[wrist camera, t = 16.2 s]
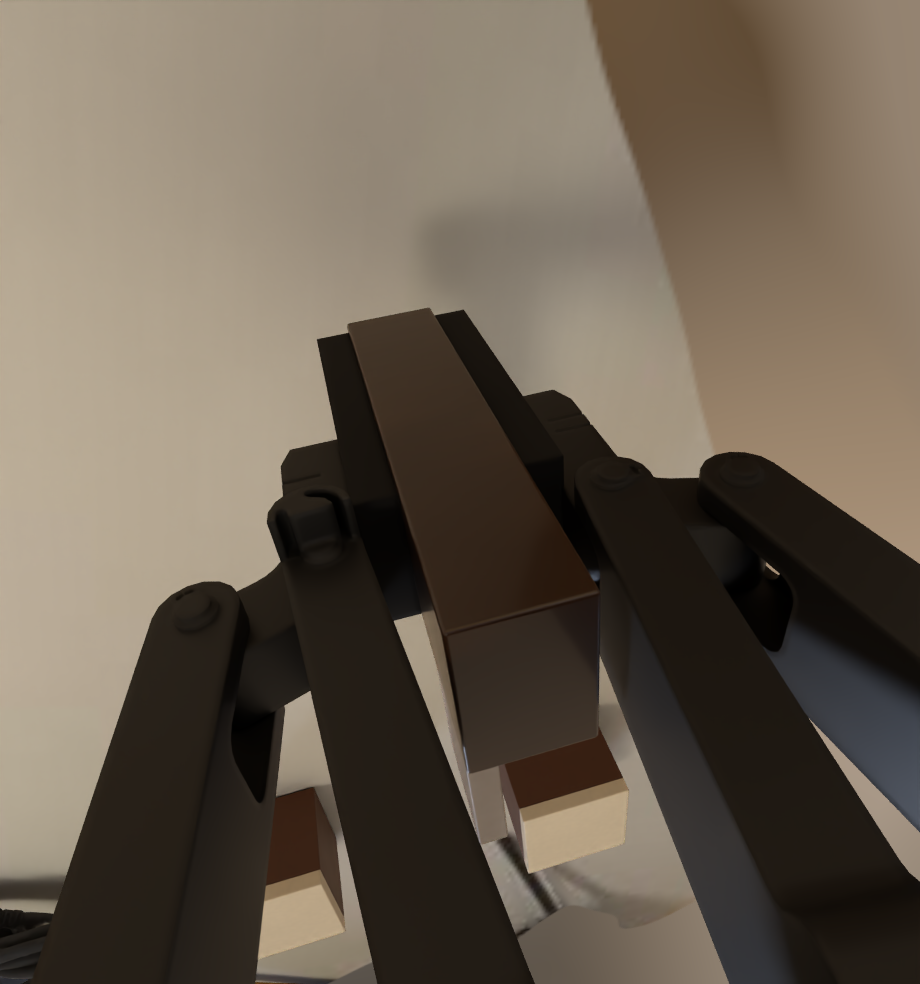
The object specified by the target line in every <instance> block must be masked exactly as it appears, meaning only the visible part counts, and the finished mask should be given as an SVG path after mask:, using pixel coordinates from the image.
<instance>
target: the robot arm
mask: <svg viewBox="0 0 920 984" xmlns="http://www.w3.org/2000/svg"><path fill="white" fill-rule="evenodd" d="M435 317H436V319H437V321H438V322H439V324H440V326H441V327H442V329H443V331H444V332H445V334H446V336H447V337H448V339H449V341H450V342H451V344H452V346H453V347H454V349H455V351H456V352H457V354H458V356H459V357H460V359H461V361H462V362H463V364H464V366H465V367H466V369H467V371H468V372H469V374H470V376H471V377H472V379H473V381H474V382H475V384H476V386H477V387H478V389H479V391H480V392H481V394H482V396H483V397H484V399H485V401H486V402H487V404H488V406H489V407H490V409H491V411H492V412H493V414H494V416H495V417H496V419H497V420H498V422H499V424H500V425H501V427H502V429H503V430H504V432H505V434H506V435H507V437H508V439H509V440H510V442H511V444H512V445H513V447H514V449H515V450H516V452H517V454H518V455H519V457H520V459H521V460H522V462H523V464H524V465H525V467H526V469H527V470H528V472H529V474H530V475H531V477H532V479H533V480H534V482H535V484H536V485H537V487H538V489H539V490H540V492H541V494H542V495H543V497H544V499H545V500H546V502H547V504H548V505H549V507H550V509H551V510H552V512H553V514H554V515H555V517H556V519H557V520H558V522H559V524H560V525H561V527H562V529H563V530H564V532H565V534H566V535H567V537H568V539H569V540H570V542H571V544H572V545H573V547H574V549H575V550H576V552H577V554H578V555H579V557H580V559H581V560H582V562H583V564H584V565H585V567H586V569H587V570H588V572H589V574H590V575H591V577H592V579H593V580H594V582H595V584H596V585H597V587H598V589H599V590H600V593H601V597H600V656H601V659H602V661H603V664H604V666H605V669H606V671H607V674H608V676H609V679H610V681H611V684H612V687H613V689H614V692H615V694H616V697H617V699H618V702H619V704H620V707H621V709H622V712H623V714H624V717H625V720H626V722H627V725H628V727H629V730H630V732H631V735H632V737H633V740H634V742H635V745H636V748H637V750H638V753H639V755H640V758H641V760H642V763H643V765H644V768H645V770H646V773H647V775H648V778H649V781H650V783H651V786H652V788H653V791H654V793H655V796H656V798H657V801H658V803H659V806H660V809H661V811H662V814H663V816H664V819H665V821H666V824H667V826H668V829H669V831H670V834H671V836H672V839H673V842H674V844H675V847H676V849H677V852H678V854H679V857H680V859H681V862H682V864H683V867H684V870H685V872H686V875H687V877H688V880H689V882H690V885H691V887H692V890H693V892H694V895H695V897H696V900H697V902H698V905H699V908H700V910H701V913H702V915H703V918H704V920H705V923H706V925H707V928H708V930H709V933H710V936H711V938H712V941H713V943H714V946H715V948H716V951H717V953H718V956H719V958H720V961H721V963H722V966H723V968H724V971H725V973H726V976H727V979H728V981H729V984H920V881H918V880H917V879H916V878H915V877H914V876H913V875H911V874H910V873H909V872H908V870H907V869H906V868H905V866H904V865H903V864H902V863H901V861H900V860H899V858H898V857H897V855H896V854H895V852H894V851H893V849H892V848H891V846H890V844H889V843H888V841H887V840H886V838H885V837H884V835H883V834H882V832H881V830H880V829H879V827H878V826H877V825H876V823H875V821H874V820H873V818H872V816H871V815H870V813H869V812H868V810H867V809H866V807H865V805H864V804H863V802H862V801H861V799H860V798H859V796H858V795H857V793H856V792H855V790H854V788H853V787H852V785H851V784H850V782H849V781H848V779H847V778H846V776H845V774H844V773H843V771H842V770H841V768H840V767H839V765H838V764H837V762H836V760H835V759H834V757H833V756H832V754H831V753H830V751H829V750H828V748H827V746H826V745H825V743H824V742H823V740H822V739H821V737H820V735H819V734H818V732H817V731H816V729H815V728H814V726H813V724H812V723H811V721H812V722H813V723H814V724H815V725H816V726H817V727H818V728H819V729H820V730H821V731H822V732H823V733H824V734H825V735H826V736H827V737H828V738H829V739H830V740H831V741H832V742H833V743H834V744H835V745H836V746H837V747H838V749H840V751H841V752H842V753H843V754H844V755H845V756H846V757H847V758H848V759H849V760H850V761H851V762H852V763H853V764H854V765H855V766H856V767H857V768H858V769H859V770H860V771H861V772H862V773H863V774H864V775H865V776H866V777H867V778H868V779H869V780H870V781H871V783H872V784H873V785H874V786H875V787H876V788H877V789H878V790H879V791H880V792H881V793H882V794H883V795H884V796H885V797H886V798H887V799H888V800H889V801H890V802H891V803H892V804H893V805H894V806H895V807H896V808H897V809H898V810H899V811H900V812H901V813H902V814H903V815H904V816H905V817H906V819H907V820H908V821H909V822H910V823H911V824H912V825H913V826H914V827H915V828H916V829H917V830H918V831H919V832H920V564H919V563H917V562H916V561H915V560H913V559H912V558H910V557H909V556H907V555H906V554H905V553H903V552H902V551H900V550H899V549H897V548H896V547H894V546H893V545H892V544H890V543H889V542H887V541H886V540H884V539H883V538H881V537H880V536H878V535H877V534H876V533H874V532H873V531H871V530H870V529H869V528H867V527H866V526H864V525H863V524H861V523H860V522H858V521H857V520H856V519H854V518H852V517H851V516H850V515H848V514H847V513H846V512H844V511H842V510H841V509H840V508H838V507H837V506H835V505H834V504H832V503H831V502H830V501H828V500H827V499H825V498H824V497H822V496H821V495H820V494H818V493H817V492H815V491H814V490H812V489H811V488H810V487H808V486H807V485H805V484H804V483H802V482H801V481H799V480H798V479H797V478H795V477H794V476H792V475H791V474H789V473H788V472H786V471H785V470H784V469H782V468H781V467H779V466H778V465H776V464H775V463H773V462H771V461H769V460H767V459H766V458H763V457H762V456H758V455H754V454H749V453H745V452H728V453H723V454H718V455H715V456H713V457H711V458H709V459H707V460H706V461H705V462H704V463H703V465H702V467H701V468H700V474H699V478H673V479H669V478H656V477H653V475H652V474H651V472H650V471H649V470H648V469H647V468H646V467H645V466H644V465H643V464H641V463H639V462H636V461H634V460H632V459H629V458H623V457H617V455H616V454H615V453H614V452H613V450H612V449H611V448H610V447H609V445H608V444H607V443H606V442H605V440H604V439H603V438H602V437H601V435H600V434H599V433H598V432H597V430H596V429H595V428H594V427H593V425H590V422H589V420H588V419H587V418H586V417H585V415H584V414H582V412H581V410H580V409H579V408H578V407H577V405H576V404H575V403H574V402H573V400H572V399H570V398H568V397H567V396H565V395H563V394H561V393H559V392H557V391H555V390H549V391H545V392H540V393H536V394H531V395H527V396H522V394H521V393H520V391H519V390H518V388H517V387H516V385H515V384H514V382H513V381H512V379H511V378H510V377H509V375H508V374H507V372H506V371H505V369H504V368H503V366H502V365H501V363H500V362H499V360H498V359H497V358H496V356H495V355H494V353H493V352H492V350H491V349H490V347H489V346H488V344H487V343H486V341H485V340H484V339H483V337H482V336H481V334H480V333H479V331H478V330H477V328H476V327H475V325H474V324H473V322H472V321H471V320H470V318H469V317H468V315H467V314H466V312H465V311H464V310H460V311H455V312H450V313H445V314H440V315H435ZM317 342H318V347H319V352H320V357H321V362H322V367H323V372H324V376H325V381H326V386H327V391H328V396H329V401H330V405H331V410H332V415H333V420H334V425H335V430H336V435H337V440H333V441H328V442H324V443H319V444H315V445H310V446H306V447H301V448H297V449H292V450H290V451H289V453H288V454H287V456H286V458H285V460H284V461H283V463H282V465H281V475H282V484H283V485H282V489H283V497H282V498H280V499H279V500H278V501H276V502H275V503H274V505H273V506H272V508H271V509H270V510H269V512H268V518H267V524H268V527H269V530H270V533H271V536H272V538H273V541H274V544H275V547H276V550H277V552H278V555H279V558H280V561H281V562H280V563H279V564H278V565H277V567H276V568H275V569H274V570H273V571H271V572H270V573H269V574H268V575H267V576H265V577H264V578H262V579H260V580H259V581H257V582H255V583H253V584H251V585H249V586H247V587H245V588H243V589H241V590H239V591H237V592H236V591H235V589H234V588H233V587H232V586H230V585H228V584H225V583H222V582H201V583H198V584H194V585H191V586H187V587H185V588H183V589H182V590H180V591H178V592H176V593H174V594H173V595H171V596H170V597H169V598H168V599H167V600H166V601H164V602H163V603H162V604H161V605H160V606H159V607H158V609H157V611H156V613H155V614H154V616H153V618H152V620H151V623H150V626H149V629H148V632H147V635H146V638H145V641H144V644H143V647H142V650H141V653H140V656H139V659H138V662H137V665H136V668H135V671H134V674H133V677H132V680H131V683H130V686H129V689H128V692H127V695H126V698H125V701H124V704H123V707H122V710H121V713H120V716H119V719H118V722H117V725H116V728H115V731H114V734H113V737H112V740H111V743H110V746H109V749H108V752H107V755H106V758H105V761H104V764H103V767H102V770H101V773H100V776H99V779H98V782H97V785H96V788H95V791H94V794H93V797H92V800H91V803H90V806H89V809H88V812H87V815H86V818H85V821H84V824H83V827H82V830H81V833H80V836H79V839H78V842H77V845H76V848H75V851H74V854H73V857H72V860H71V863H70V866H69V869H68V872H67V875H66V878H65V881H64V884H63V887H62V890H61V893H60V896H59V899H58V902H57V905H56V908H55V911H54V914H53V918H52V921H51V924H50V927H49V930H48V933H47V936H46V939H45V942H44V945H43V948H42V951H41V954H40V957H39V960H38V963H37V966H36V969H35V972H34V975H33V978H32V981H31V984H255V980H256V971H257V962H258V953H259V944H260V935H261V925H262V916H263V907H264V898H265V889H266V880H267V871H268V862H269V852H270V843H271V834H272V825H273V816H274V807H275V798H276V788H277V779H278V770H279V761H280V752H281V743H282V734H283V724H284V715H285V707H284V705H286V704H288V703H290V702H291V701H293V700H295V699H296V698H298V697H300V696H302V695H303V694H305V693H307V692H309V691H311V695H312V700H313V704H314V708H315V713H316V717H317V722H318V726H319V730H320V735H321V739H322V743H323V748H324V752H325V756H326V761H327V765H328V770H329V774H330V778H331V783H332V787H333V791H334V796H335V800H336V805H337V809H338V813H339V818H340V822H341V826H342V831H343V835H344V840H345V844H346V848H347V853H348V857H349V861H350V866H351V870H352V875H353V879H354V883H355V888H356V892H357V896H358V901H359V905H360V910H361V914H362V918H363V923H364V927H365V931H366V936H367V940H368V945H369V949H370V953H371V958H372V962H373V966H374V970H375V975H376V979H377V984H535V983H534V980H533V978H532V976H531V973H530V971H529V968H528V966H527V963H526V960H525V958H524V955H523V953H522V950H521V948H520V945H519V942H518V940H517V937H516V935H515V932H514V930H513V927H512V924H511V922H510V919H509V917H508V914H507V912H506V909H505V907H504V904H503V901H502V899H501V896H500V894H499V891H498V889H497V886H496V883H495V881H494V878H493V876H492V873H491V871H490V868H489V865H488V863H487V860H486V858H485V855H484V853H483V850H482V847H481V845H480V842H479V840H478V837H477V835H476V832H475V829H474V827H473V824H472V822H471V819H470V817H469V814H468V811H467V809H466V806H465V804H464V801H463V799H462V796H461V793H460V791H459V788H458V786H457V783H456V781H455V778H454V775H453V773H452V770H451V768H450V765H449V763H448V760H447V757H446V755H445V752H444V750H443V747H442V745H441V742H440V739H439V737H438V734H437V732H436V729H435V727H434V724H433V721H432V719H431V716H430V714H429V711H428V709H427V706H426V703H425V701H424V698H423V696H422V693H421V691H420V688H419V685H418V683H417V680H416V678H415V675H414V673H413V670H412V667H411V665H410V662H409V660H408V657H407V655H406V652H405V650H404V647H403V644H402V642H401V639H400V637H399V634H398V632H397V629H396V626H395V624H394V620H398V619H402V618H406V617H410V616H413V615H417V614H421V613H422V612H421V607H420V602H419V597H418V592H417V587H416V583H415V578H414V573H413V568H412V563H411V558H410V553H409V548H408V543H407V538H406V533H405V528H404V523H403V518H402V514H401V509H400V504H399V499H398V494H397V491H396V488H395V484H394V481H393V478H392V474H391V471H390V468H389V464H388V461H387V458H386V454H385V451H384V448H383V445H382V441H381V438H380V435H379V431H378V428H377V425H376V421H375V418H374V415H373V411H372V408H371V405H370V401H369V398H368V395H367V392H366V388H365V385H364V382H363V378H362V375H361V372H360V368H359V365H358V362H357V358H356V355H355V352H354V349H353V345H352V342H351V339H350V335H349V333H346V334H341V335H336V336H331V337H326V338H321V339H317ZM766 562H767V563H768V564H769V565H770V566H772V567H773V568H774V569H775V570H776V571H778V572H779V573H780V575H777V574H776V573H774V572H773V571H771V570H770V569H769V568H768V567H767V566H766ZM809 718H810V720H811V721H810V720H809Z"/></svg>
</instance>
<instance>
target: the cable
mask: <svg viewBox="0 0 920 984" xmlns="http://www.w3.org/2000/svg"><path fill="white" fill-rule="evenodd" d="M52 918H53V914H50V913H37V912H23V911H21V910H14V911H13V910H6V909H5V910H2V909H1V908H0V977H3V978H10V979H12V978H13V979H28V980H27V981H25V982H24V983H22V984H31V981H32V978H33V975H34V972H35V969H36V966H37V963H38V960H39V957H40V954H41V951H42V948H43V945H44V942H45V939H46V936H47V933H48V930H49V927H50V924H51V921H52Z"/></svg>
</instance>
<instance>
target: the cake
mask: <svg viewBox="0 0 920 984" xmlns="http://www.w3.org/2000/svg"><path fill="white" fill-rule="evenodd" d="M499 771H500V778H501V786H502V792H503V795H504V798H505V801H506V804H507V807H508V811H509V814H510V817H511V820H512V823H513V826H514V830H515V833H516V836H517V839H518V842H519V845H520V848H521V852H522V855H523V858H524V860H525V864H526V867H527V870H528V873H532V872H536V871H539V870H542V869H545V868H548V867H552V866H555V865H558V864H561V863H564V862H567V861H571V860H574V859H577V858H580V857H583V856H587V855H590V854H593V853H596V852H599V851H602V850H606V849H609V848H612V847H615V846H618V845H622V844H624V843H625V831H626V819H627V807H628V795H629V789H628V787H627V785H626V783H625V781H624V779H623V777H622V774H621V772H620V770H619V768H618V766H617V764H616V762H615V760H614V758H613V756H612V753H611V751H610V749H609V747H608V745H607V743H606V741H605V739H604V737H603V735H602V732H601V730H600V728H599V726H598V736H596V737H595V738H591V739H588V740H585V741H581V742H578V743H574V744H571V745H568V746H564V747H561V748H557V749H554V750H551V751H547V752H544V753H541V754H537V755H534V756H530V757H527V758H524V759H520V760H517V761H513V762H510V763H507V764H503V765H500V766H499Z"/></svg>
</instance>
